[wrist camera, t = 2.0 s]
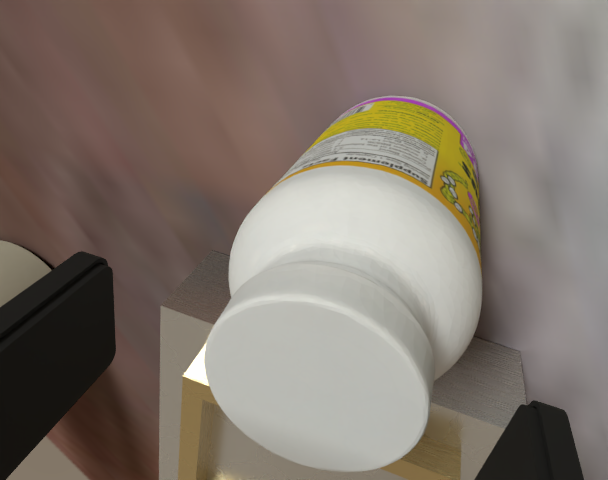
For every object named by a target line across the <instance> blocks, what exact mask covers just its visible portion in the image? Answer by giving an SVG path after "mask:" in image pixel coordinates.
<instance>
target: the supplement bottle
mask: <svg viewBox="0 0 608 480" xmlns="http://www.w3.org/2000/svg"><path fill="white" fill-rule="evenodd" d="M479 210H480V209H479V183H478V170H477V163H476V158H475V154H474V151H473V148H472V145H471V143H470V141H469V139H468V137H467V136H466V134H465V132H464V131H463V129H462V128H461V127H460V126H459V125H458V123H457V122H456V121H455V120H454V119H453V118H452V117H451V116H450V115H448V114H447V113H446V112H444V111H443V110H441V109H440V108H438V107H437V106H435V105H433V104H431V103H428V102H426V101H423V100H420V99H417V98H412V97H404V96H384V97H378V98H374V99H370V100H367V101H365V102H362V103H360V104H358V105H356V106H354V107H352V108H350V109H349V110H348V111H346V112H345V113H343V114H342V115H341V116H340V117H339V118H337V119H336V120H335V121H334V122H333V123H332V124H331V125H330V126H329V127H328V128H327V129H326V130H325V131H324V133H323V134H322V135H321V136H320V137H319V138H318V139H317V140H316V141H315V142H314V143H313V144H312V146H311V147H310V148H309V149H308V150H307V151H306V152H305V153H304V154H303V155H302V156H301V157H300V158H299V160H298V161H297V162H296V163H295V164H294V165H293V166H292V167H291V168H290V169H289V170H288V171H287V173H286V174H285V175H284V176H283V177H282V178H281V179H280V180H279V181H278V182H277V183H276V184H275V185H274V186H273V187H272V188H271V189H270V190H269V191H268V192H267V193H266V194H265V195H264V196H263V198H262V199H261V200H260V201H259V202H258V203H257V204H256V205H255V206H254V208H253V209H252V210H251V211H250V213H249V214H248V215H247V217H246V218H245V220H244V221H243V223H242V225H241V226H240V228H239V230H238V233H237V235H236V237H235V240H234V243H233V246H232V250H231V254H230V261H229V288H230V294H231V299H230V301H229V303H228V304H227V306H226V308H225V309H224V311H223V312H222V314H221V315H220V317H219V318H218V320H217V321H216V323H215V324H214V326H213V328H212V330H211V332H210V334H209V337H208V339H207V342H206V348H205V353H204V366H205V372H206V377H207V381H208V384H209V386H210V389H211V391H212V393H213V396H214V398H215V400H216V401H217V403H218V404H219V406H220V407H221V409H222V410H223V412H224V413H225V414H226V416H227V417H228V418H229V419H230V420H231V421H232V422H233V423H234V424H235V425H236V426H237V427H238V428H239V429H240V430H241V431H242V432H243V433H244V434H245V435H246V436H248V437H249V438H250V439H252V440H253V441H255V442H256V443H258V444H259V445H261V446H262V447H264V448H265V449H267V450H269V451H271V452H272V453H274V454H276V455H278V456H280V457H283V458H285V459H287V460H289V461H292V462H295V463H298V464H301V465H304V466H308V467H312V468H317V469H322V470H328V471H338V472H360V471H368V470H373V469H377V468H381V467H384V466H387V465H389V464H391V463H394V462H395V461H397V460H399V459H401V458H402V457H403V456H405V455H406V454H408V453H409V452H410V451H411V450H412V449H413V448H414V447H415V446H416V445H417V443H418V442H419V441H420V439H421V438H422V436H423V434H424V432H425V429H426V427H427V424H428V420H429V417H430V408H431V399H432V391H433V384H434V381H435V380H436V379H438V378H439V377H440V376H441V375H443V374H444V373H445V372H446V371H448V370H449V369H450V368H451V367H452V366H453V365H454V364H455V363H456V362H457V361H458V359H459V358H460V357H461V356H462V354H463V353H464V352H465V350H466V349H467V347H468V345H469V344H470V342H471V340H472V338H473V335H474V333H475V331H476V328H477V325H478V321H479V317H480V311H481V305H482V269H481V243H480V211H479Z"/></svg>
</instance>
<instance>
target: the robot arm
mask: <svg viewBox="0 0 608 480" xmlns="http://www.w3.org/2000/svg"><path fill="white" fill-rule="evenodd" d="M115 351H116V345H115V320H114V295H113V272H112V269H111V268H110V267H108V263H107V261H106V259H104V258H101V257H98V256H95V255H92V254H89V253H86V252H78V253H76V254H74V255H73V256H71V257H70V258H69V259H67V260H66V261H64V262H63V263H62V264H60V265H59V266H57V267H56V268H55V269H53V270H52V271H50V272H49V273H48V274H46V275H45V276H43V277H42V278H41V279H39V280H38V281H36V282H35V283H33V284H32V285H31V286H29V287H28V288H26V289H25V290H24V291H22V292H21V293H19V294H18V295H17V296H15V297H14V298H12V299H11V300H10V301H8V302H7V303H5V304H4V305H3V306H1V307H0V480H6V479H7V477H8V476H9V475H10V474H11V473H12V472H13V471H14V470H15V469H16V468H17V467H18V465H19V464H20V463H21V462H22V461H23V460H24V459H25V458H26V457H27V456H28V454H29V453H30V452H31V451H32V450H33V449H34V448H35V447H36V446H37V445H38V443H39V442H40V441H41V440H42V439H43V438H44V437H45V436H46V435H47V433H48V432H49V431H50V430H51V429H52V428H53V427H54V426H55V425H56V424H57V422H58V421H59V420H60V419H61V418H62V417H63V416H64V415H65V414H66V413H67V411H68V410H69V409H70V408H71V407H72V406H73V405H74V404H75V403H76V402H77V400H78V399H79V398H80V397H81V396H82V395H83V394H84V393H85V392H86V390H87V389H88V388H89V387H90V386H91V385H92V384H93V383H94V382H95V381H96V379H97V378H98V377H99V376H100V375H101V374H102V373H103V372H104V371H105V370H106V368H107V367H108V366H109V365H110V364H111V362H112V360H113V358H114V356H115ZM474 480H584V478H583V474H582V470H581V466H580V462H579V459H578V455H577V451H576V447H575V443H574V439H573V435H572V431H571V427H570V423H569V420H568V416H567V414H566V412H565V411H564V410H562V409H559V408H556V407H553V406H550V405H547V404H544V403H541V402H538V401H532V402H531V403H530V404H529V405H528V406H527V405H524V404H521V405H520V406H519V407H518V409H517V410H516V412H515V414H514V415H513V417H512V419H511V420H510V422H509V423H508V425H507V427H506V428H505V430H504V432H503V433H502V435H501V437H500V438H499V440H498V441H497V443H496V445H495V446H494V448H493V450H492V451H491V453H490V455H489V456H488V458H487V460H486V461H485V463H484V464H483V466H482V468H481V469H480V471H479V473H478V474H477V476H476V478H475V479H474Z"/></svg>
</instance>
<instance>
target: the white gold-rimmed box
mask: <svg viewBox="0 0 608 480" xmlns="http://www.w3.org/2000/svg"><path fill="white" fill-rule="evenodd" d="M229 261H230V256H228V255H225V254H222V253H219V252H216V251H213V250H212V251H211V252H210V253H209V255H208V256H207V257H206V258H205V259H204V260H203V261H202V262H201V263H200V264H199V265H198V266H197V267H196V268H195V270H194V271H193V272H192V273H191V274H190V275H189V276H188V277H187V278H186V279H185V280H184V281H183V282H182V283H181V285H180V286H179V287H178V288H177V289H176V290H175V291H174V292H173V293H172V294H171V295H170V296H169V297H168V298H167V300H166V301H165V302H164V303H163V304H162V305H161V327H160V426H159V480H474V479H475V478H476V476H477V474H478V473H479V471H480V469H481V468H482V466H483V464H484V463H485V461H486V460H487V458H488V456H489V455H490V453H491V451H492V450H493V448H494V446H495V445H496V443H497V441H498V440H499V438H500V437H501V435H502V433H503V432H504V430H505V428H506V427H507V425H508V423H509V422H510V420H511V419H512V417H513V415H514V414H515V412H516V410H517V409H518V407H519V406H520V405H521V404H524V405H527V404H526V396H525V388H524V380H523V372H522V364H521V356H520V352H519V351H516V350H513V349H510V348H507V347H504V346H501V345H498V344H495V343H492V342H489V341H486V340H483V339H480V338H477V337H474V336H473V338H472V340H471V342H470V344H469V345H468V347H467V349H466V350H465V352H464V353H463V354H462V356H461V357H460V358H459V359H458V361H457V362H456V363H455V364H454V365H453V366H452V367H451V368H450V369H449V370H448V371H446V372H445V373H444V374H443V375H441V376H440V377H439V378H438V379H436V380H435V381H434V384H433V391H432V399H431V408H430V417H429V420H428V424H427V427H426V429H425V432H424V434H423V436H422V438H421V439H420V441H419V442H418V443H417V445H416V446H415V447H414V448H413V449H412V450H411V451H410V452H409V453H408V454H406V455H405V456H403V457H402V458H401V459H399V460H397V461H395V462H394V463H391V464H389V465H387V466H384V467H381V468H377V469H373V470H368V471H360V472H338V471H328V470H322V469H317V468H312V467H308V466H304V465H301V464H298V463H295V462H292V461H289V460H287V459H285V458H283V457H280V456H278V455H276V454H274V453H272V452H271V451H269V450H267V449H265V448H264V447H262V446H261V445H259V444H258V443H256V442H255V441H253V440H252V439H250V438H249V437H248V436H246V435H245V434H244V433H243V432H242V431H241V430H240V429H239V428H238V427H237V426H236V425H235V424H234V423H233V422H232V421H231V420H230V419H229V418H228V417H227V416H226V414H225V413H224V412H223V410H222V409H221V407H220V406H219V404H218V403H217V401H216V400H215V398H214V396H213V393H212V391H211V389H210V386H209V384H208V381H207V377H206V372H205V366H204V353H205V348H206V342H207V339H208V337H209V334H210V332H211V330H212V328H213V326H214V324H215V323H216V321H217V320H218V318H219V317H220V315H221V314H222V312H223V311H224V309H225V308H226V306H227V304H228V303H229V301H230V299H231V294H230V288H229Z"/></svg>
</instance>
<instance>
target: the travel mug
mask: <svg viewBox="0 0 608 480" xmlns="http://www.w3.org/2000/svg"><path fill="white" fill-rule="evenodd" d="M50 271H52V270H51V269H50V268H49V267H48V266H47V265H46V264H45V263H44V262H43V261H41V260H40V259H39V258H38V257H36V256H35V255H34V254H32V253H31V252H29V251H27V250H26V249H24V248H22V247H20V246H18V245H15V244H13V243H9V242H6V241H0V307H1V306H3V305H4V304H5V303H7V302H8V301H10V300H11V299H12V298H14V297H15V296H17V295H18V294H19V293H21V292H22V291H24V290H25V289H26V288H28V287H29V286H31V285H32V284H33V283H35V282H36V281H38V280H39V279H41V278H42V277H43V276H45V275H46V274H48V273H49V272H50Z"/></svg>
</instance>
